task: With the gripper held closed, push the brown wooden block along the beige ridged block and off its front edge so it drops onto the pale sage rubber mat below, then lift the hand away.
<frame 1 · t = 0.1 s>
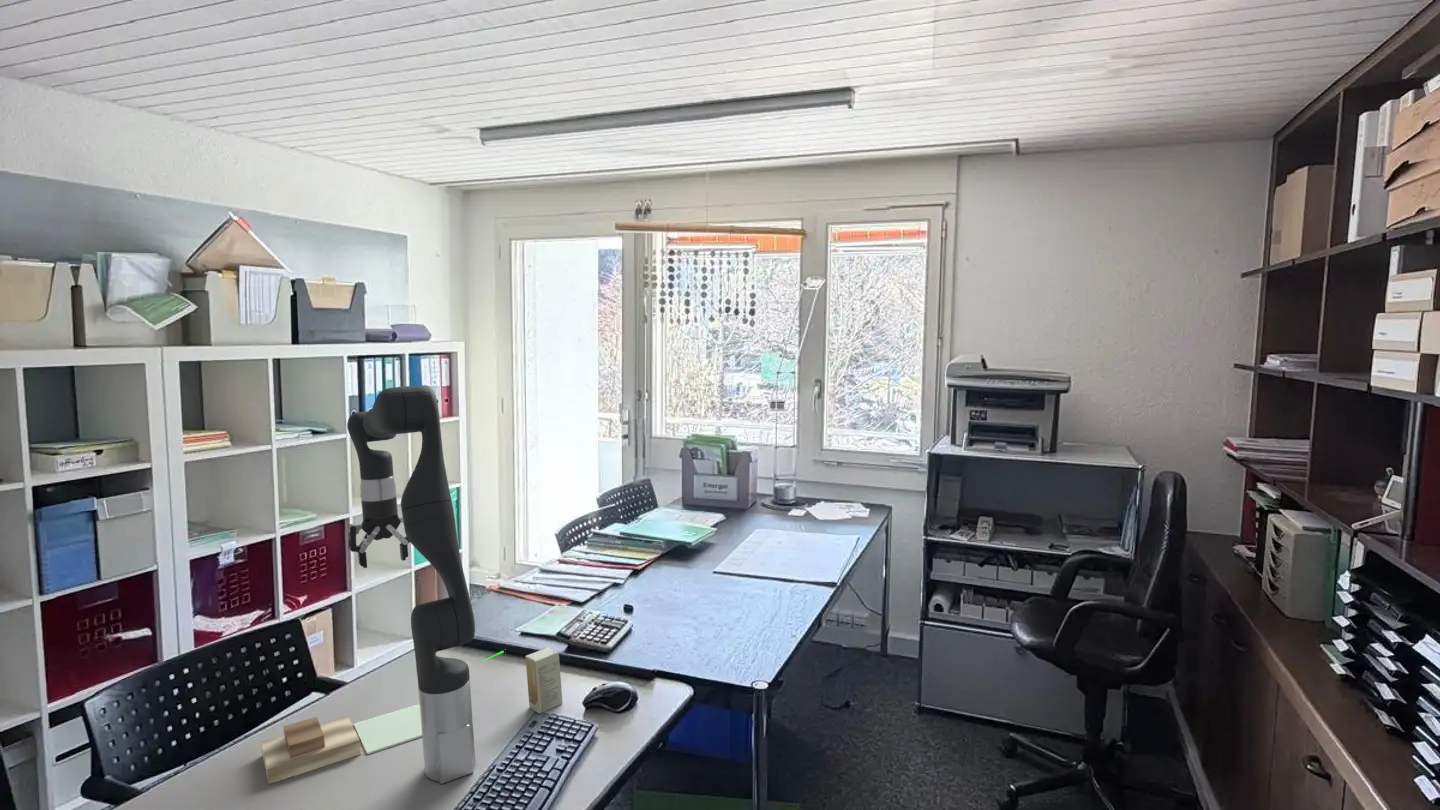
hand: (384, 563, 181), 29 cm above the table, tool pointing down, fingers open, 8 cm apart
pen: (502, 655, 199), on the table
beige ridged block: (311, 754, 154), on the table
mat: (410, 723, 165), on the table
brown wooden block: (303, 736, 153), point 4 cm above the table, touching beige ridged block
skincare box: (545, 706, 171), on the table
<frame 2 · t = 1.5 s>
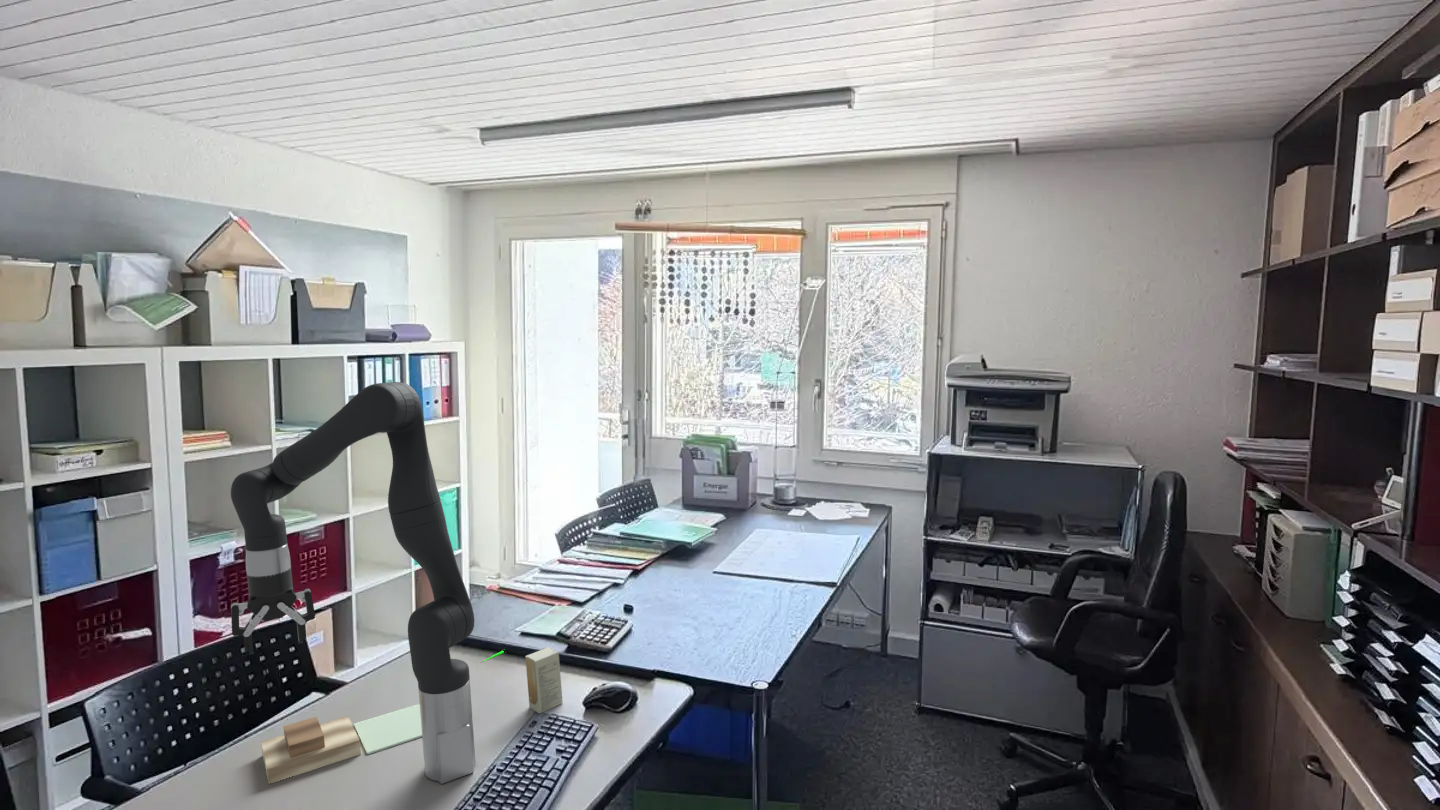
hand: (276, 647, 153), 22 cm above the table, tool pointing down, fingers open, 8 cm apart
nothing on the table moved.
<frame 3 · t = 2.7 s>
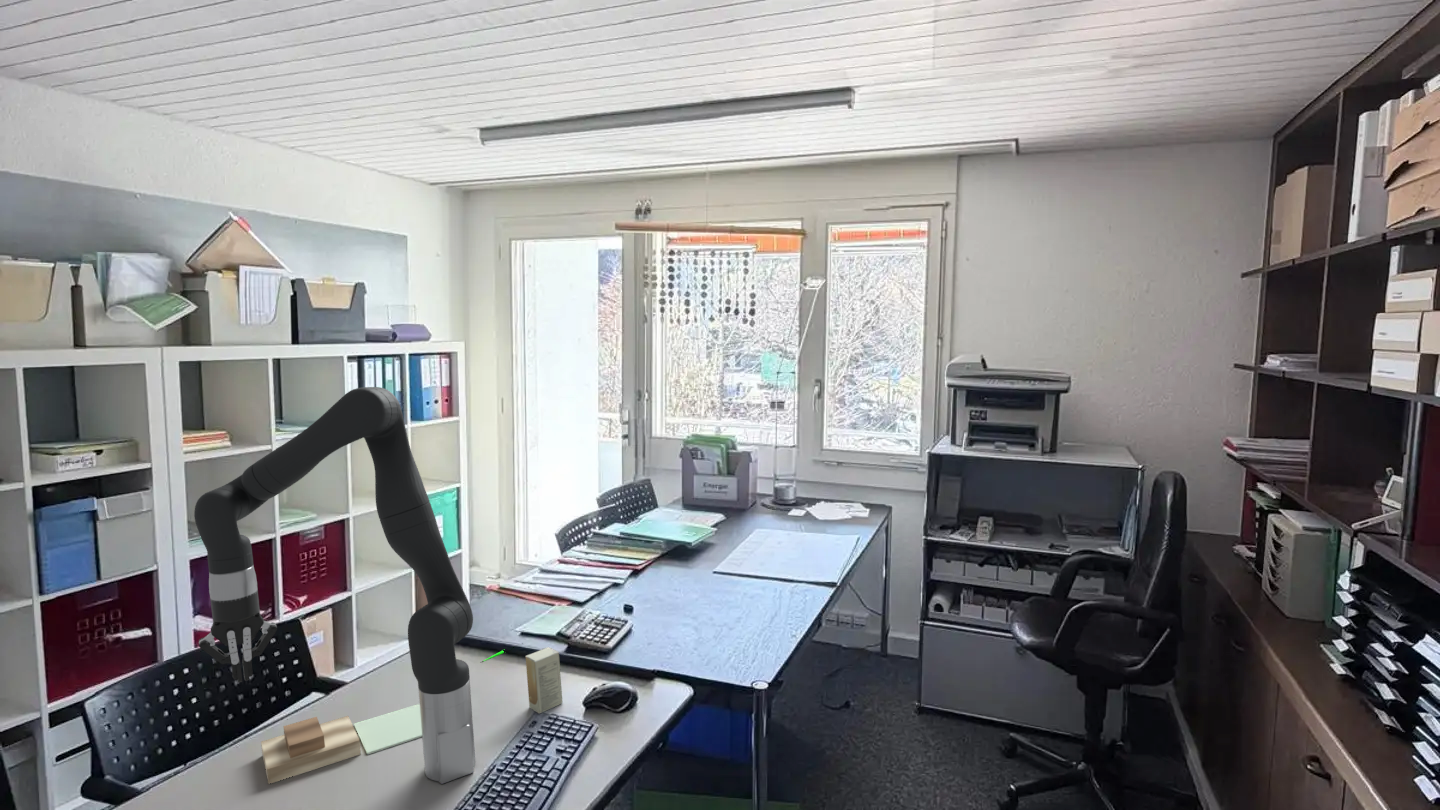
hand: (243, 679, 146), 19 cm above the table, tool pointing down, fingers closed
nothing on the table moved.
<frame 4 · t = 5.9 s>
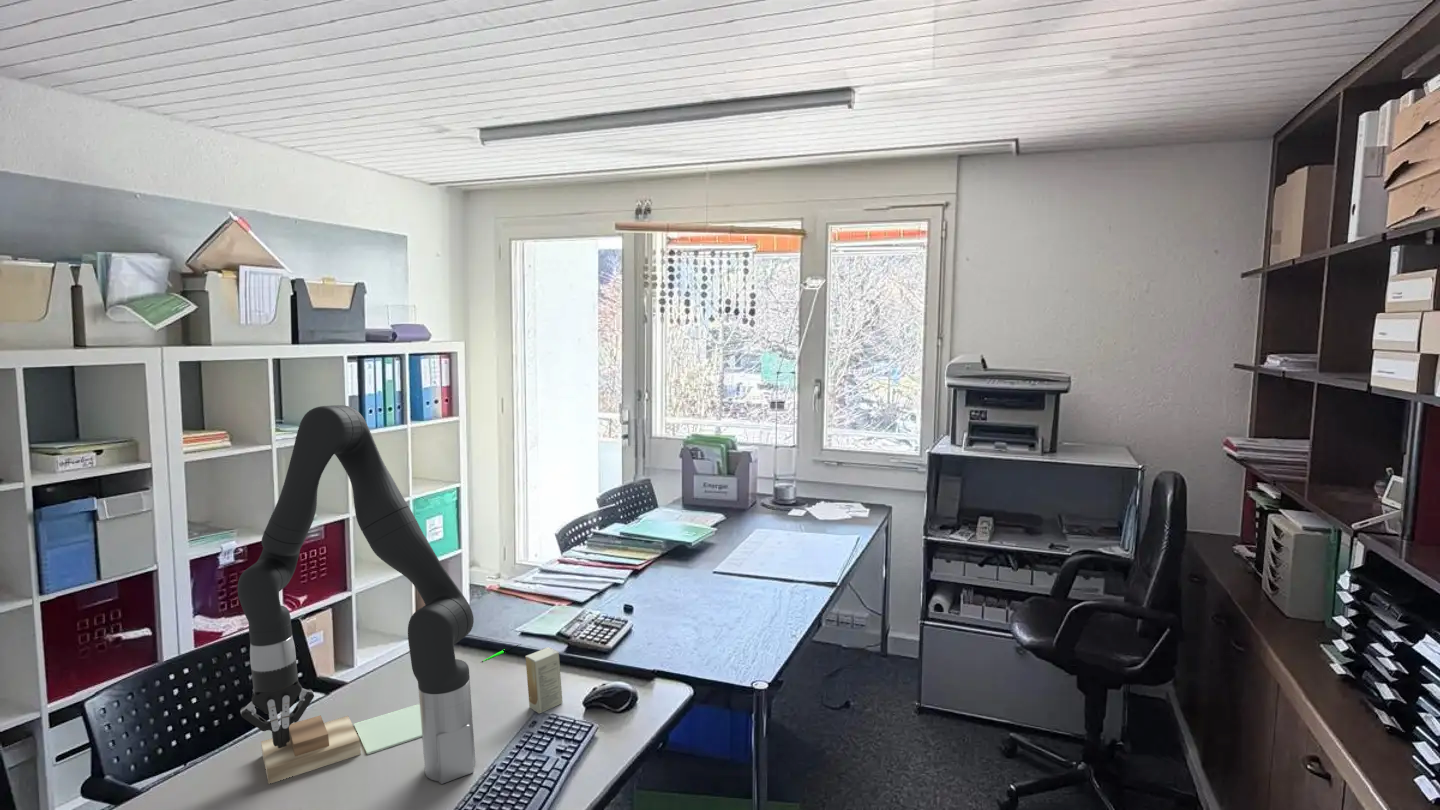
hand: (282, 745, 150), 4 cm above the table, tool pointing down, fingers closed
nothing on the table moved.
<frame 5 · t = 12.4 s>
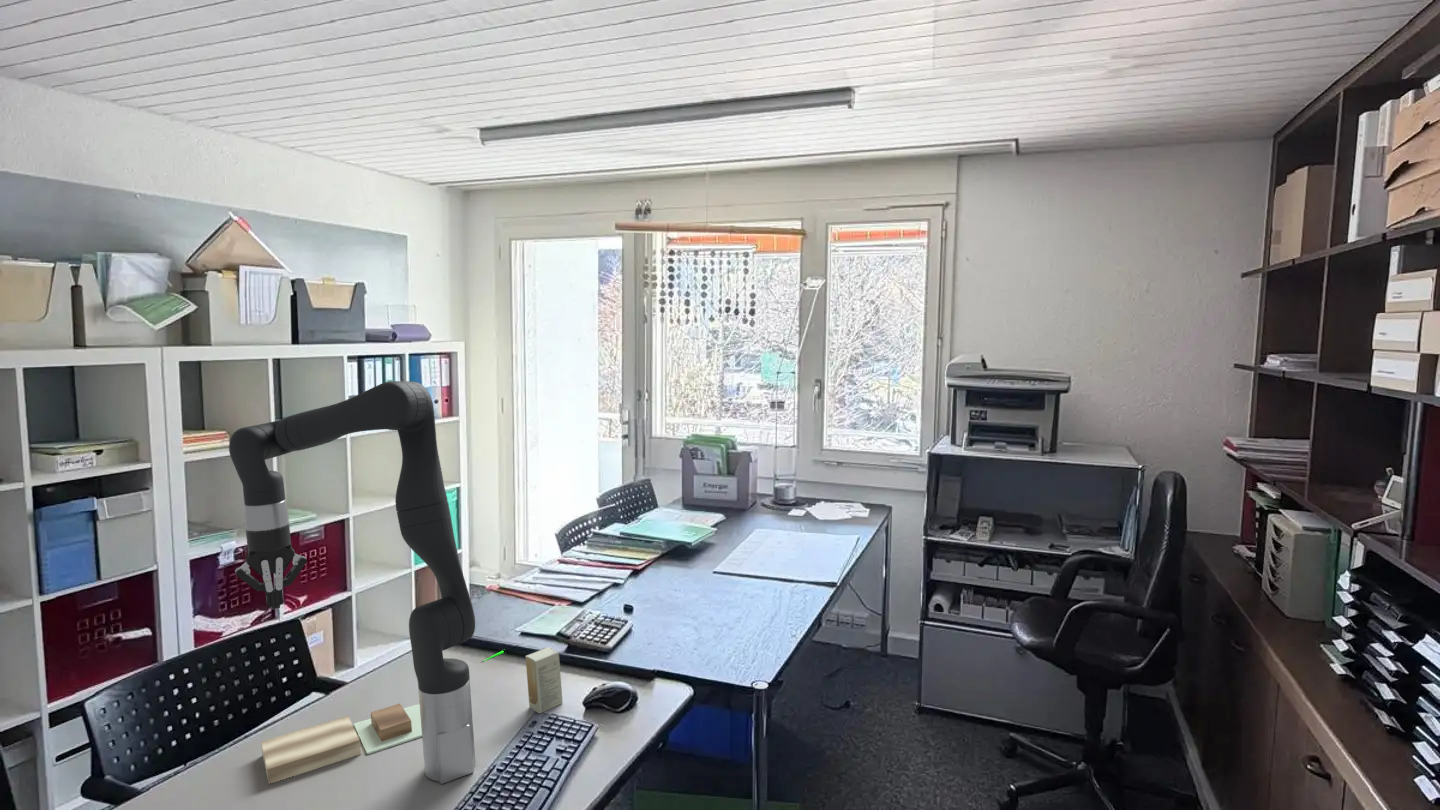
hand: (275, 607, 155), 29 cm above the table, tool pointing down, fingers closed
brown wooden block: (391, 721, 163), point 2 cm above the table, tilted 180°, touching mat
everything else where it was.
at the end: brown wooden block inside the target area (3.1 cm from its centre), point 1.6 cm above the table; brown wooden block touching mat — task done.
